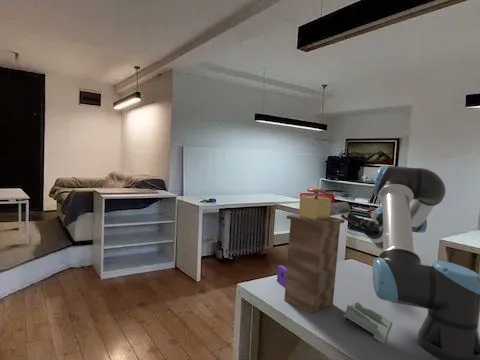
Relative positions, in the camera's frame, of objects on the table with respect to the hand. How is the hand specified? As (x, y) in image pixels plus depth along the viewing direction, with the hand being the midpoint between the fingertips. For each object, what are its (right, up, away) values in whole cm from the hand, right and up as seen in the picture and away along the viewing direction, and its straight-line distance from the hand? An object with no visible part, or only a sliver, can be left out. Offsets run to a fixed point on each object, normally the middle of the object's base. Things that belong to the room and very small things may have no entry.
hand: (356, 210), depth 131 cm
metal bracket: (-8, -33, -31) cm, 46 cm away
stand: (-23, -30, -18) cm, 42 cm away
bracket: (-26, -30, -1) cm, 39 cm away
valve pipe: (-16, -1, -15) cm, 22 cm away
